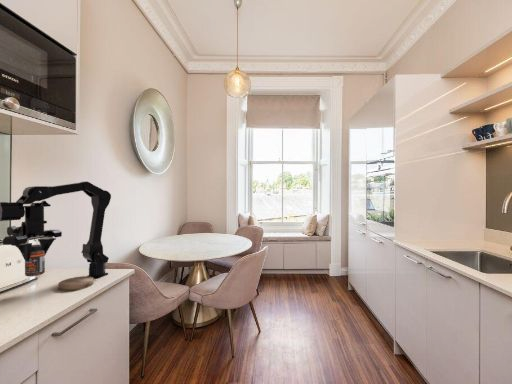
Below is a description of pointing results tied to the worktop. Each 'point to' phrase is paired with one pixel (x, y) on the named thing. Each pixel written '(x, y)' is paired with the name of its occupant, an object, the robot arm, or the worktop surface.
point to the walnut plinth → (75, 283)
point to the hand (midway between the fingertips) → (35, 259)
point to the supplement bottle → (35, 261)
